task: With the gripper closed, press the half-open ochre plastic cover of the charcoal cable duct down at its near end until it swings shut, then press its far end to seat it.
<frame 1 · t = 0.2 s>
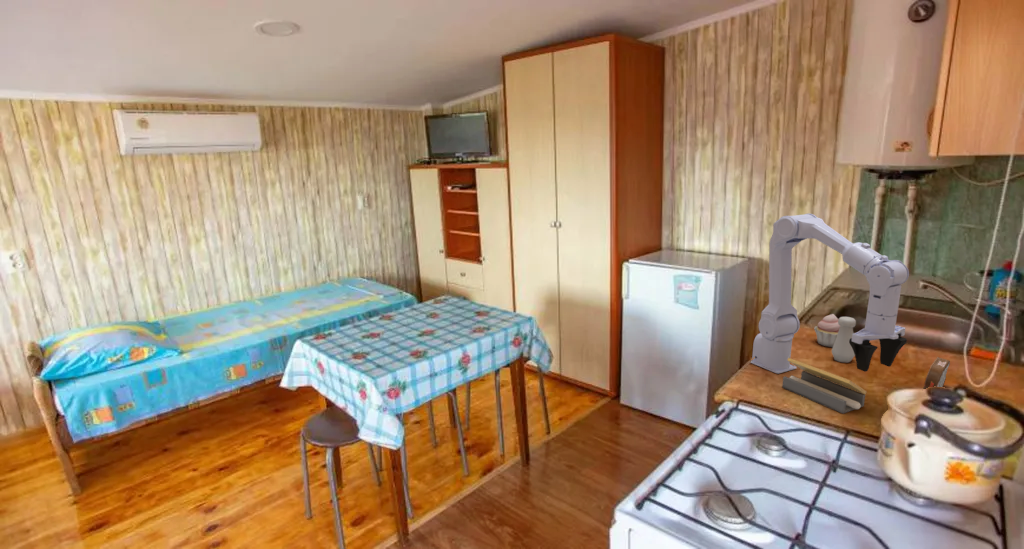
hand: (874, 367, 124), 10 cm above the table, tool pointing down, fingers open, 7 cm apart
salt shaker: (842, 360, 153), on the table
cupcake: (829, 344, 166), on the table
tin: (933, 393, 132), on the table
cable duct: (821, 396, 131), on the table
duct cover: (825, 375, 130), point 6 cm above the table, hinge at 32.0°
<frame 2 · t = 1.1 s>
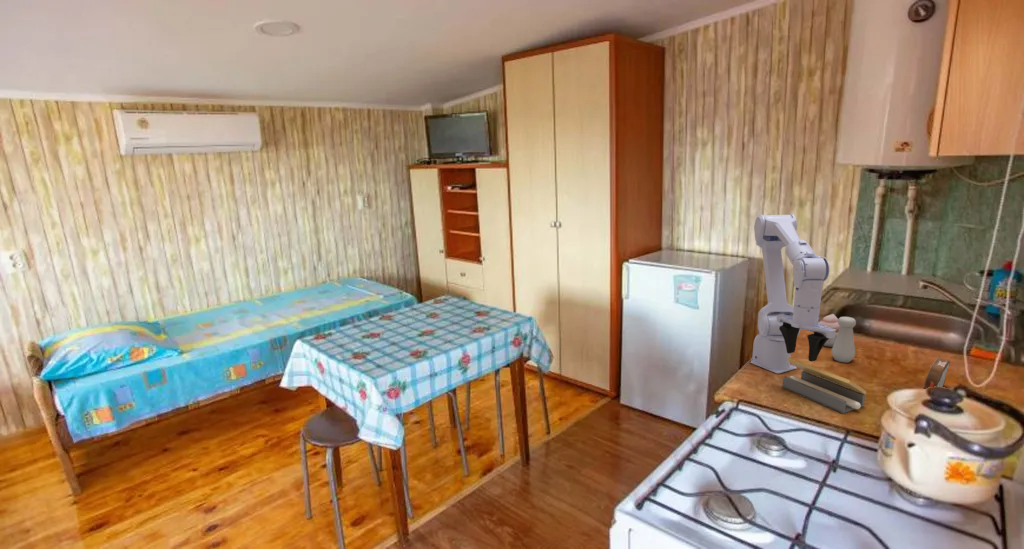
hand: (801, 356, 133), 9 cm above the table, tool pointing down, fingers open, 5 cm apart
nothing on the table moved.
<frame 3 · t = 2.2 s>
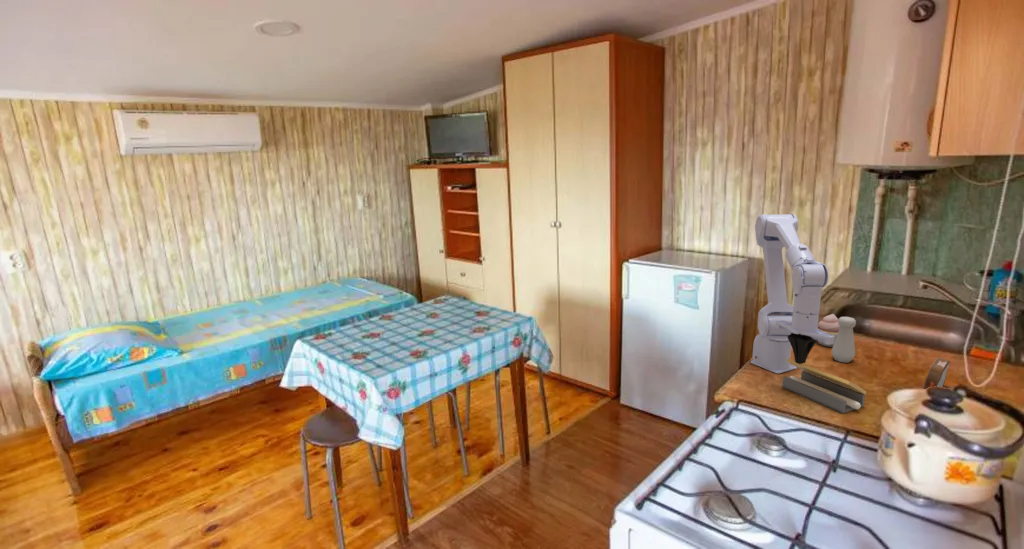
hand: (800, 362, 133), 8 cm above the table, tool pointing down, fingers closed, pressing on duct cover
duct cover: (825, 375, 130), point 6 cm above the table, hinge at 30.4°, touching gripper
everything else where it was.
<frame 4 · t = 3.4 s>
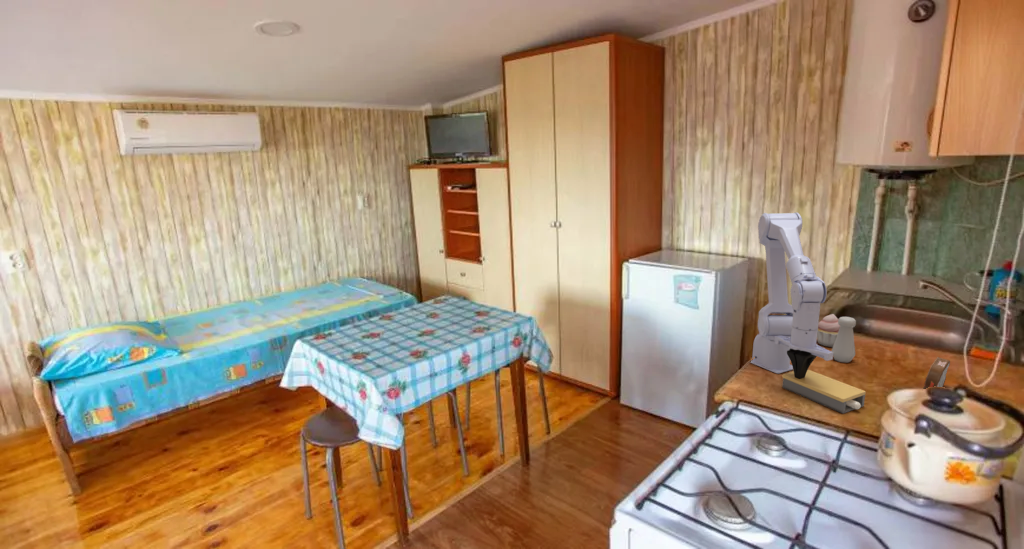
hand: (799, 377, 134), 4 cm above the table, tool pointing down, fingers closed, pressing on duct cover
duct cover: (822, 384, 130), point 3 cm above the table, hinge at -0.5°, touching cable duct, gripper
everything else where it was.
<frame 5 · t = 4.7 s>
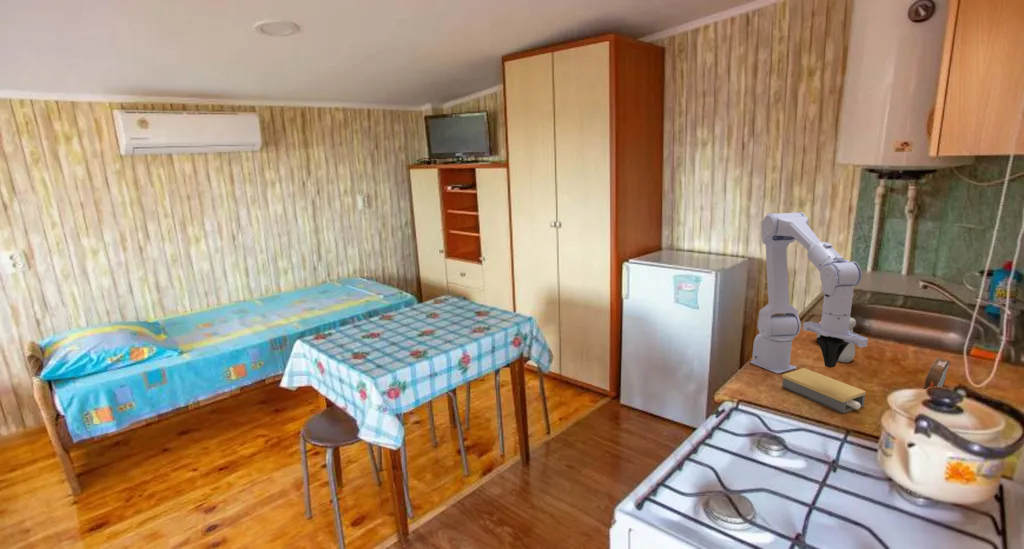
hand: (830, 366, 126), 10 cm above the table, tool pointing down, fingers closed
duct cover: (822, 384, 130), point 3 cm above the table, hinge at -0.5°, touching cable duct
everything else where it was.
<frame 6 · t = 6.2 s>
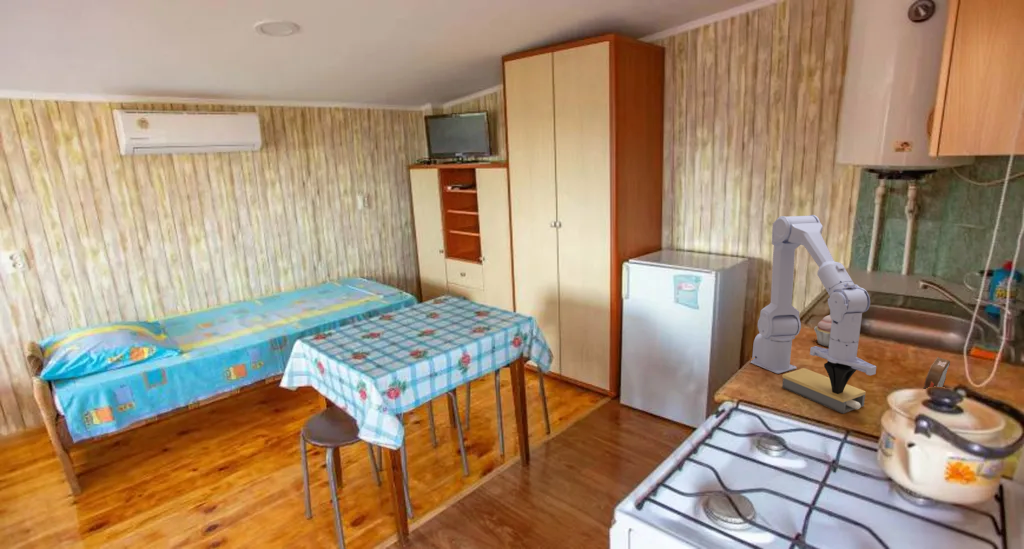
hand: (837, 392, 125), 4 cm above the table, tool pointing down, fingers closed, pressing on duct cover
duct cover: (822, 384, 130), point 3 cm above the table, hinge at -0.5°, touching cable duct, gripper
everything else where it was.
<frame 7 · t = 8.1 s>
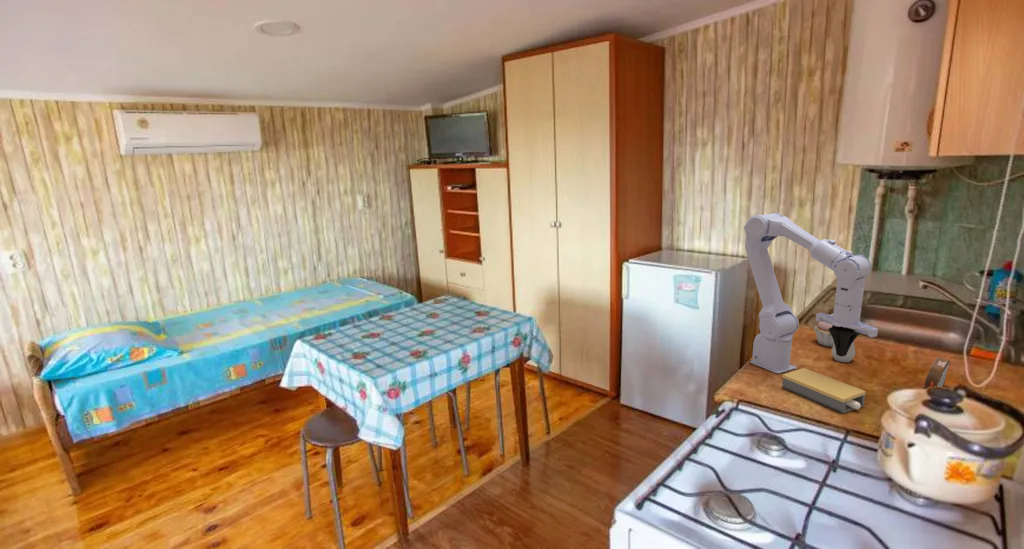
hand: (841, 355, 133), 9 cm above the table, tool pointing down, fingers closed
duct cover: (822, 384, 130), point 3 cm above the table, hinge at -0.5°, touching cable duct
everything else where it was.
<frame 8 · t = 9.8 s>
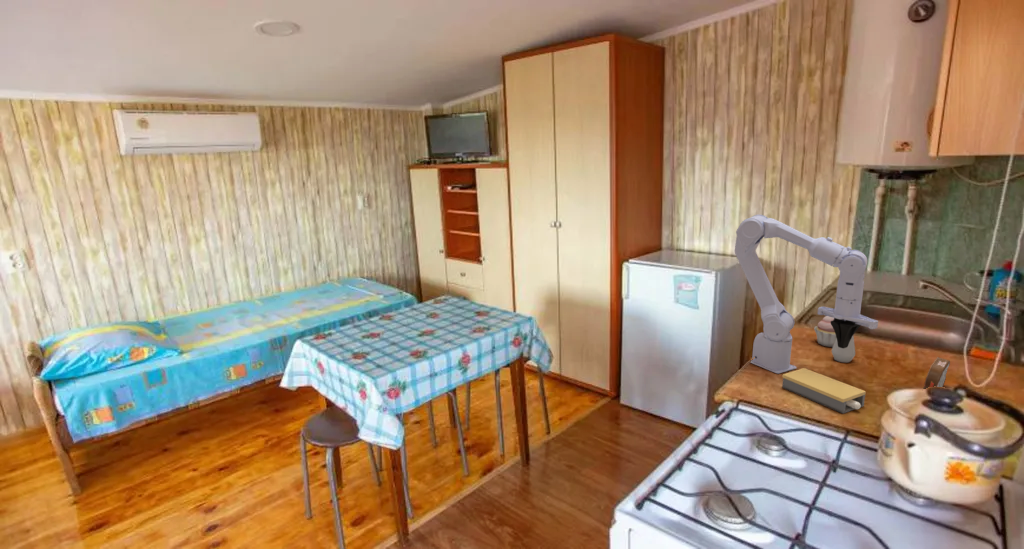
hand: (842, 347, 138), 9 cm above the table, tool pointing down, fingers closed
nothing on the table moved.
at the end: duct cover at +0° (first picture: +32°) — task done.
